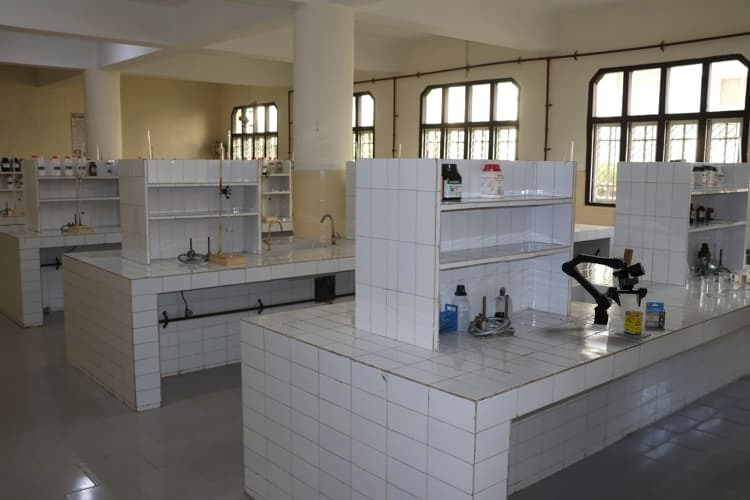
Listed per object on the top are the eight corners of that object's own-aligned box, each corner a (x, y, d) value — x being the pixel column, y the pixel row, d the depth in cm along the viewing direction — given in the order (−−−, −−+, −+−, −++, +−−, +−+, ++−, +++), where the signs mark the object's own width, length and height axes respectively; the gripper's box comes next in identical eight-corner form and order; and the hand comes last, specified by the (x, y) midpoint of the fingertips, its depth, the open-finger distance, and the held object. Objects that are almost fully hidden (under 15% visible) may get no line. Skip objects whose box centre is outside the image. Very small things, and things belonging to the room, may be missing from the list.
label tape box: (646, 327, 341) (648, 303, 340) (644, 325, 345) (646, 301, 344) (664, 327, 340) (666, 304, 338) (662, 326, 344) (664, 302, 342)
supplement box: (634, 335, 321) (635, 313, 320) (623, 333, 326) (625, 310, 325) (641, 334, 324) (643, 311, 323) (631, 331, 329) (632, 309, 328)
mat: (638, 339, 317) (638, 338, 317) (615, 334, 326) (615, 333, 326) (650, 335, 325) (650, 334, 325) (627, 330, 334) (627, 329, 333)
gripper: (609, 270, 333) (614, 297, 323) (647, 271, 332) (654, 298, 322) (603, 283, 341) (609, 309, 332) (641, 284, 340) (647, 310, 331)
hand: (629, 306), depth 329 cm, fingers open, 9 cm apart
